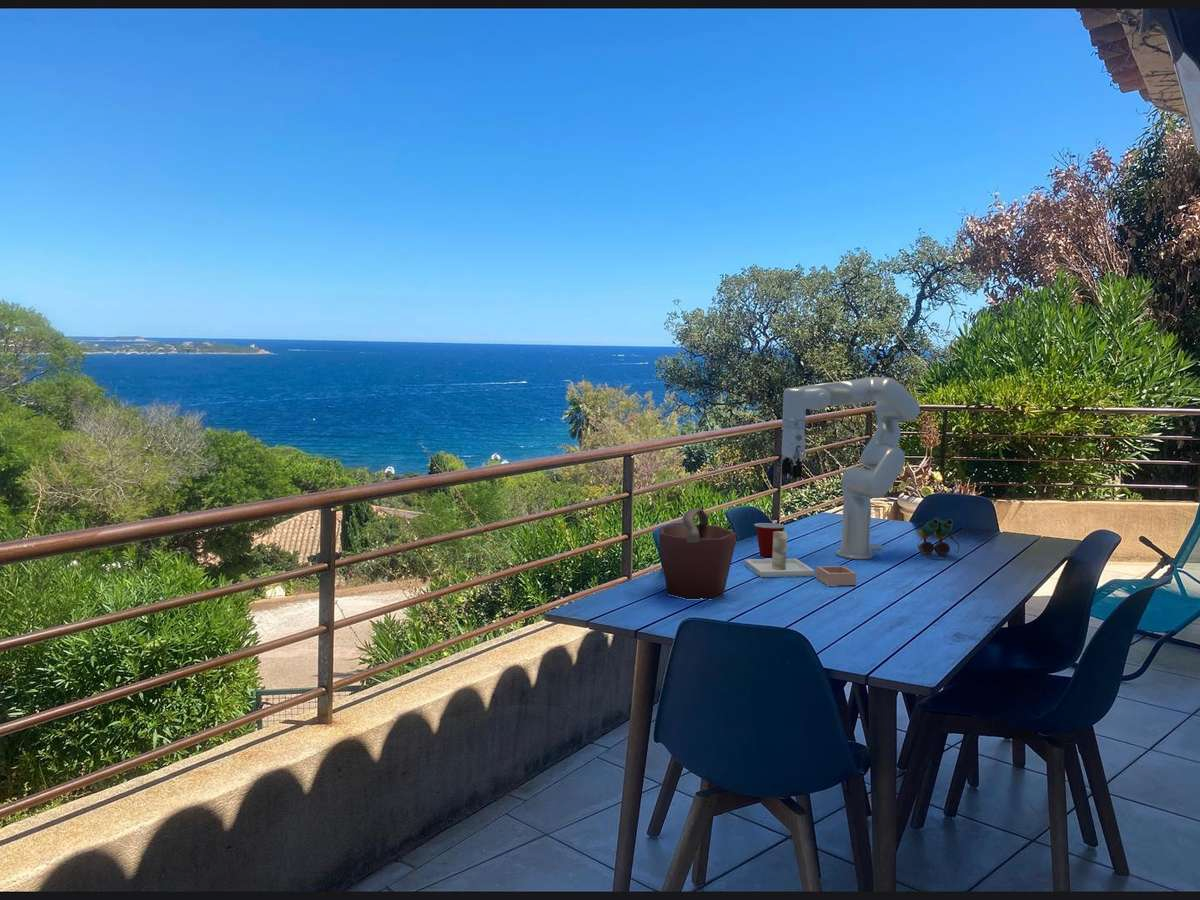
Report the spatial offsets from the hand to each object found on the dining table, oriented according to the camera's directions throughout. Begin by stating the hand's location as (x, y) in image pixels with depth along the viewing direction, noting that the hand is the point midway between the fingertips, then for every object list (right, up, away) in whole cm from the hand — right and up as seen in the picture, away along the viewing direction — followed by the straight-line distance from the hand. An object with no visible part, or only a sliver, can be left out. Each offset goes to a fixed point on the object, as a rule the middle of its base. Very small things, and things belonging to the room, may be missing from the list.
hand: (791, 475), depth 277 cm
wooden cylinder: (-6, -30, -7) cm, 32 cm away
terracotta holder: (+9, -33, -20) cm, 40 cm away
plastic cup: (-6, -29, +11) cm, 32 cm away
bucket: (-37, -34, -34) cm, 61 cm away
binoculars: (+55, -30, +17) cm, 65 cm away
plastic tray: (-6, -31, -7) cm, 33 cm away
